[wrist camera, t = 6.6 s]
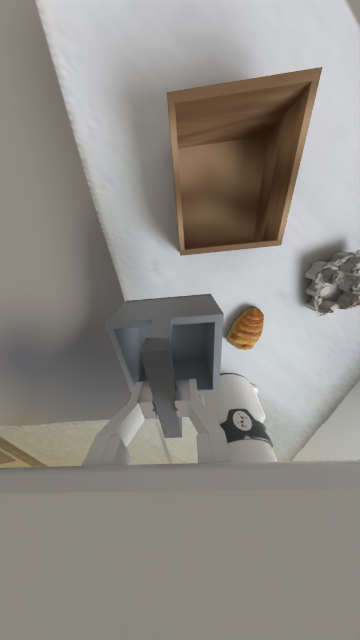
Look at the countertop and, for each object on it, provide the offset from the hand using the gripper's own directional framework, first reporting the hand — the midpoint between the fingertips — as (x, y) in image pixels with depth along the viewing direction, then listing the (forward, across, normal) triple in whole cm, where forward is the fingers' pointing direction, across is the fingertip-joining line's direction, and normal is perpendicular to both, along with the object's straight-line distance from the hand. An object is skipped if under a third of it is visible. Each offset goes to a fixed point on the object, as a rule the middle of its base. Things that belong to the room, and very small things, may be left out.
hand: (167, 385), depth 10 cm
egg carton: (+20, +29, +1) cm, 35 cm away
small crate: (+7, 0, 0) cm, 7 cm away
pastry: (+20, +14, -8) cm, 26 cm away
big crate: (+20, +8, +15) cm, 26 cm away
